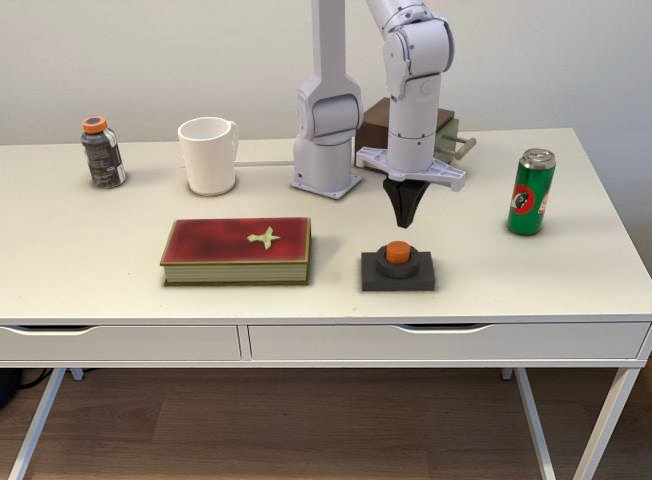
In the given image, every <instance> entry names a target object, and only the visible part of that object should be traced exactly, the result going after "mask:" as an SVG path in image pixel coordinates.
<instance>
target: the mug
mask: <svg viewBox="0 0 652 480" xmlns="http://www.w3.org/2000/svg"><path fill="white" fill-rule="evenodd" d="M239 130H240V129H239V127H238V125H237V123H236V122H234V121H232V120H227V119H224V118H221V117H217V116H206V117H204V116H203V117H197V118H194V119H190V120H188V121H185V122H184V123H183V124H181V125H180V126H179V127H178V129H177V137H178V141H179V145H180V149H181V155H182V157H183V163H184V167H185V171H186V175H187V179H188V185H189V188H190V190H191V191H192V192H193V193H195V194H196V195H199V196H203V197H213V196H219V195H223V194H226V193H227V192H229V191H230V190H231V189H233V188H234V186H235V184H236V173H235V162H236V159H237V153H238V150H239V149H238V148H239V141H240V131H239ZM232 132H233V133H232Z"/></svg>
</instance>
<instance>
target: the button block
mask: <svg viewBox="0 0 652 480" xmlns="http://www.w3.org/2000/svg"><path fill="white" fill-rule="evenodd" d="M387 245H388V244H385V245H382V246H380V248H379V249H378V250H377V251H362V252H361V253H360V270H361V271H360V272H361V273H360V275H361V291H362V292H370V291H371V292H373V291H374V292H375V291H377V292H378V291H379V292H380V291H381V292H383V291H385V292H387V291H390V292H391V291H434V290H435V287H436V277H435V270H434V263H433V259H432V251H430V250H429V251H426V250H425V251H419V250H418V249H417V248H416V247H414V246H413V245H410V256H409V260H408V261H407V262H405V263H392V262H389V261H388V260H387V258H386V253H387Z"/></svg>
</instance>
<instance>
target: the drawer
mask: <svg viewBox="0 0 652 480" xmlns="http://www.w3.org/2000/svg"><path fill="white" fill-rule="evenodd" d="M459 125H460V119H459V118H455V117H454V118H452V119H451V120H450V121H449V122H448V123H447V124H446V125H445V126H444V127H441V128H440V129H439V130H438V131H437V132H436V134H435V144H434V154H433V158H435V159H437V160H439V161H441V162H443V163H445V164H447V165H448V163H449V162H450V161H452V159H455V160H456V161H461V160H462V159H463V158H464V157H466V155H467V154H468V153H470V151H471V150H472V149H473V148H474V147H475V146H476V145H477V143H478V142H477V139H476V138H475V137H470V138H462V137H458V132H459ZM457 143H460V144H463V145H462V146H461V147H460V148H459V149H458V150H457V151H456V148H457Z"/></svg>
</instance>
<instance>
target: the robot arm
mask: <svg viewBox="0 0 652 480" xmlns="http://www.w3.org/2000/svg"><path fill="white" fill-rule="evenodd" d="M365 2H366V4H367V6H368V8H369V11H370V14H371V15H372V17H373V20H374V22H375V24H376V26H377V28H378V31H379V33H380V35H381V37H382V39H383V41H384V45H383V46H382V56H383V64H384V69H385V73H386V82H385V86H386V90H387V92H388V93H390V95H389V98H390V114H389V133H388V149H374V148H368V147H363V148H362V149H360V150H359V151H358V152H357V153H356V166H355V167H357V166H358V167H357V168H361V167H364V166H369V167H373V168H377V169H380V170H383V171H385V172H387V174H386V177H385V178H384V179H383V180H382V189H383V190H384V191H385V193H386V195H387V196H388V198H389V200H390V203H391V205H392V209H393V212H394V216H395V221H396V226H397V227H398V228H400V229H404V230H407V229H408V228H409V227H410V226H411V225H412V224H413V222H414V218H415V215H416V212H417V210H418V208H419V205H420V203H421V200H422V198H423V197H424V194H425V193H426V191H428V188H429V186H430V185H431V184H435V185H439V186H442V187H446V188H450V191H451V192H454V193H459V192H461V191H462V189H463V188H464V187H465V186H466V177H467V171H466V170H465V171H464V170H461V169H459V168H456V167H453V166H451V165H450V164H448V163H447V164H445V163H443V162H441V161H439V160H437V159H435V158H433V154H434V144H435V134H436V124H437V114H438V108H439V105H440V94H441V83H442V73H446V72H448V71H449V70H450V69H451V67H452V65H453V62H454V59H455V53H456V52H455V51H456V50H455V49H456V44H455V36H454V33H453V32H454V31H453V29H452V28H451V25H450V24H451V23H450V21H449V20H448V19H447V18H446V17H445V16H441V15H438V13H437V12H436V11H430V10H429V7H428V6H427V3H426V2H425V0H365ZM310 11H311V12H310V15H311V35H312V37H311V39H312V56H313V57H312V60H313V73H312V75H310V76H309V77H308V78H307V79H306V80H305V81H304V82H303V83H301V85H299V87H298V88H297V94H296V95H297V96H296V106H295V120H296V125H297V129H298V131H299V133H298V134H297V135H296V137H295V139H294V143H293V149H292V153H293V154H292V155H293V172H294V182H292V183H291V185H292V187H294V188H296V189H300V190H304V191H307V192H310V193H314V194H317V195H320V196H325V197H327V198H331V199H333V200H339V199H341V198H342V197H343V196H344V195H346V193H348V192H349V191H350V190H351V189H352V188H354V186H356V185H357V184H358V183H359V182H361V180H362V177H361V176H360V175H356V174H352V165H353V163H352V158H353V157H352V156H353V151H352V150H353V149H352V148H353V138H355V136H356V129H359V128H360V127H361V124H362V122H363V118H364V112H365V109H364V103H363V100H362V90H361V89H362V88H361V86H360V84H359V83H358V81H357V80H356V79H355V78H354V77H352V76H351V75H350V74H347V62H346V61H347V60H346V59H347V57H346V56H347V55H346V54H347V53H346V51H347V49H346V46H347V45H346V0H310Z"/></svg>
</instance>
